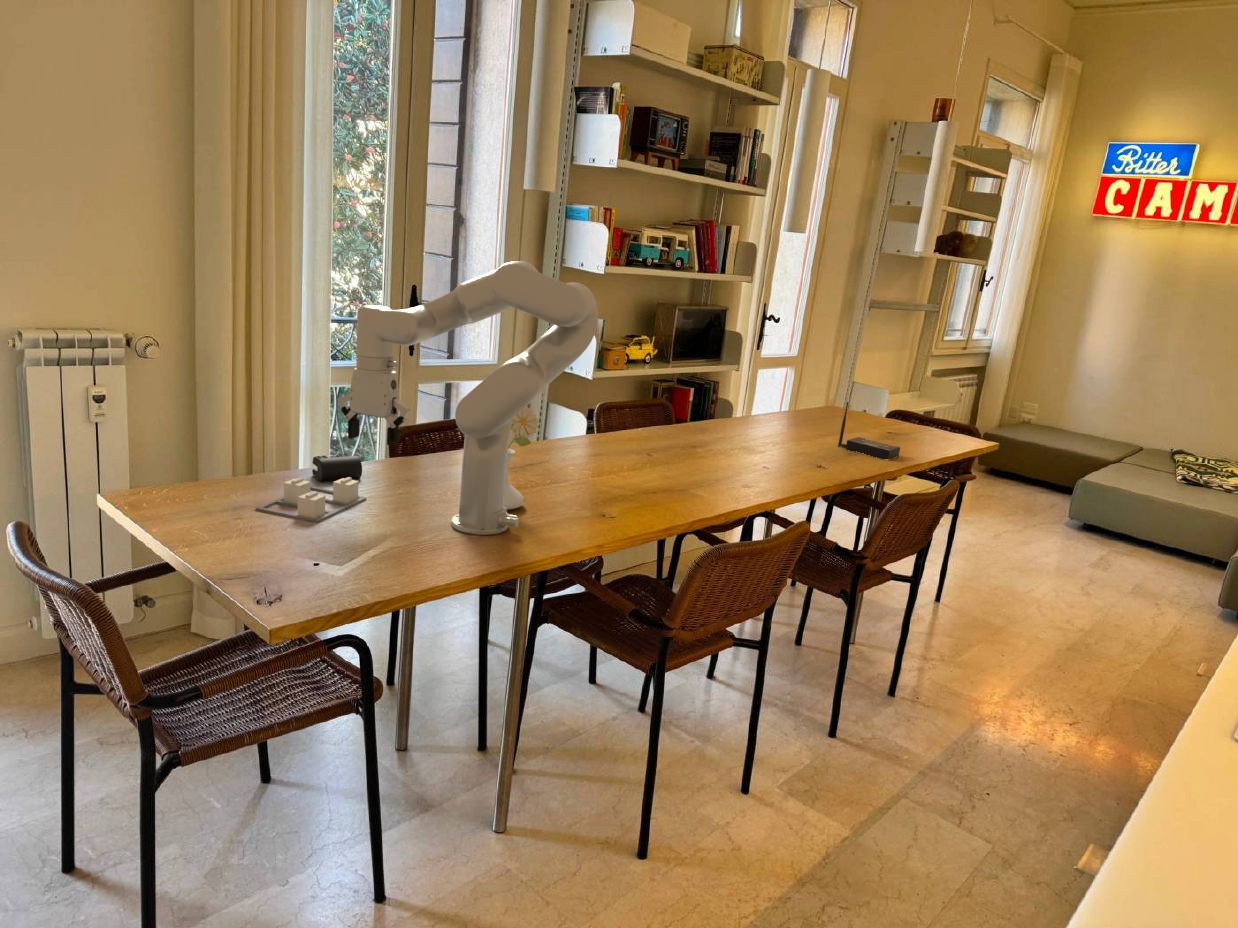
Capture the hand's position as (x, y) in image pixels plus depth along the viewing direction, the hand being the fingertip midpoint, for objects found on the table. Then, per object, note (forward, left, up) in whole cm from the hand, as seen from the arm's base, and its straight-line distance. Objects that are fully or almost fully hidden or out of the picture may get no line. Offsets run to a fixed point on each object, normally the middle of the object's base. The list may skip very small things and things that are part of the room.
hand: (372, 440), depth 192 cm
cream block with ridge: (+14, +7, -15) cm, 22 cm away
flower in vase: (-24, -20, -16) cm, 35 cm away
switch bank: (+12, +7, -16) cm, 21 cm away
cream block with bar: (+6, 0, -15) cm, 16 cm away
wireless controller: (-110, -154, -17) cm, 190 cm away
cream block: (+6, +13, -15) cm, 21 cm away
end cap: (+17, -13, -17) cm, 27 cm away
